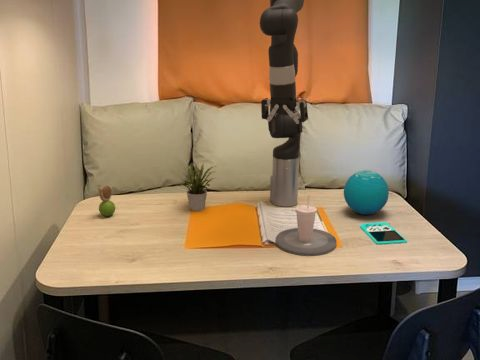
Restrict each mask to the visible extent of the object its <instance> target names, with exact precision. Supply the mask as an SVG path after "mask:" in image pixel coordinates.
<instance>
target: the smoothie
mask: <svg viewBox="0 0 480 360" xmlns="http://www.w3.org/2000/svg"><path fill="white" fill-rule="evenodd" d="M306 199H307V202H306V205H305V204H302V205H297V206H296V207H295V210H294V212H295V213H296V223H297V228H298V234H299V240H301V241H305V242H307V241H311V239H312V233H313V229H314V226H315V220H316V214H317V213H318V209H317V207H315V206H314V205H310V194H308V193H307V198H306Z"/></svg>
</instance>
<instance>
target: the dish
mask: <svg viewBox="0 0 480 360" xmlns="http://www.w3.org/2000/svg"><path fill="white" fill-rule="evenodd" d="M275 245H276V246H277V248H279V249H280V250H282V251H284V252H285V253H288V254H293V255H297V256H303V257H304V256H306V257H309V256H310V257H312V256H321V255H326V254H328V253H332V252H333V251H335V249H336V248H337V239H336V236H334V235H333V234H331V233H330V232H328V231H326V230H321V229H318V228H313V233H312V239H311V241H307V242H305V241H301V240H299V234H298V227H294V228H289V229H285V230H282V231H280V232H279V233H278V234H276V237H275Z"/></svg>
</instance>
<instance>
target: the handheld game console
mask: <svg viewBox="0 0 480 360" xmlns="http://www.w3.org/2000/svg"><path fill="white" fill-rule="evenodd" d="M359 228H360V229H361V230H362V231H363V232H364V233H365V235H367V237H368V238H370V239H371V241H372V242H373V243H374V244H376V245H377V246H379V245H393V244H394V245H395V244H407V243H408V240H407V239H406V238H405V237H404V236H402V235H401V233H399V231H397V230H396V229H395V228H394V227H392V226H391V224H389V223H388V222H387V221H381V222H380V221H379V222H377V221H376V222H366V223H362V224H360V225H359Z"/></svg>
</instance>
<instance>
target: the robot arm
mask: <svg viewBox="0 0 480 360" xmlns="http://www.w3.org/2000/svg"><path fill="white" fill-rule="evenodd" d="M304 3H305V0H269V5H270V7H268V8H265V10H264V11H263V12H262V13H261V15H260V18H259V28H260V30H261V32H262V33H263V34H264V35H265V36H269V37H270V41H271V43H270V45H269V47H268V53H267V54H268V65H269V67H268V68H269V69H268V70H269V71H268V80H269V93H270V94H269V95H270V99H269V98H268V97H266V98H263V99H262V100H261V105H260V106H261V109H260V110H261V119H262V120H266V121H267V124H268V131H269V134H270V137H271V138H273V139H287V138H288V139H287V140H286V141H285V142H284V143H282V144H280V145H277V146H275V147H274V148H273V149H272V175H271V176H270V177H269V179H270V181H269V182H270V185H269V189H270V190H269V201H270V202H271V204H273V205H274V206H278V207H284V208H285V207H287V208H288V207H293V206H296V205H297V204H298V199H299V198H298V194H299V193H298V192H299V169H300V167H299V166H300V148H301V138H302V137H301V135H302V133H303V123H305V122H306V121H308V119H309V113H308V103H307V100H306V99H303V100H301V101H300V100H297V86H296V84H297V83H296V77H297V75H298V70H299V53H298V49H297V47H296V45H295V44H294V43H295V38H296V33H297V28H298V24H299V17H298V12H301V10H302V9H303V7H304ZM297 108H298V109H299V111H298V109H297Z"/></svg>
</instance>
